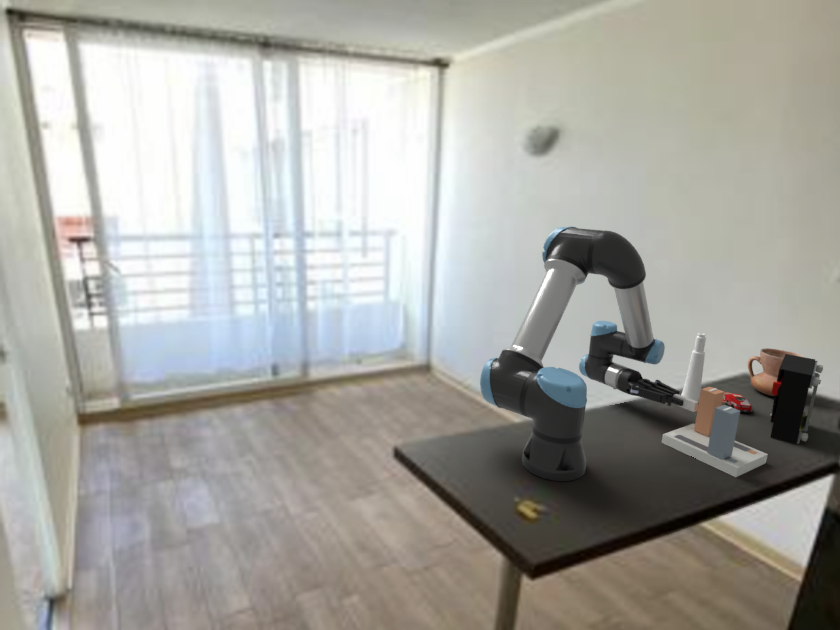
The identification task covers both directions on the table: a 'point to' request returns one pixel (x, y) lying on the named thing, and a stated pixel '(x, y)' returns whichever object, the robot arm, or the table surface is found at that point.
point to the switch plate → (697, 448)
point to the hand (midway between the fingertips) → (696, 406)
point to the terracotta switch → (707, 409)
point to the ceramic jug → (767, 369)
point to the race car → (736, 402)
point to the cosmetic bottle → (695, 370)
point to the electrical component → (794, 398)
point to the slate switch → (723, 431)
